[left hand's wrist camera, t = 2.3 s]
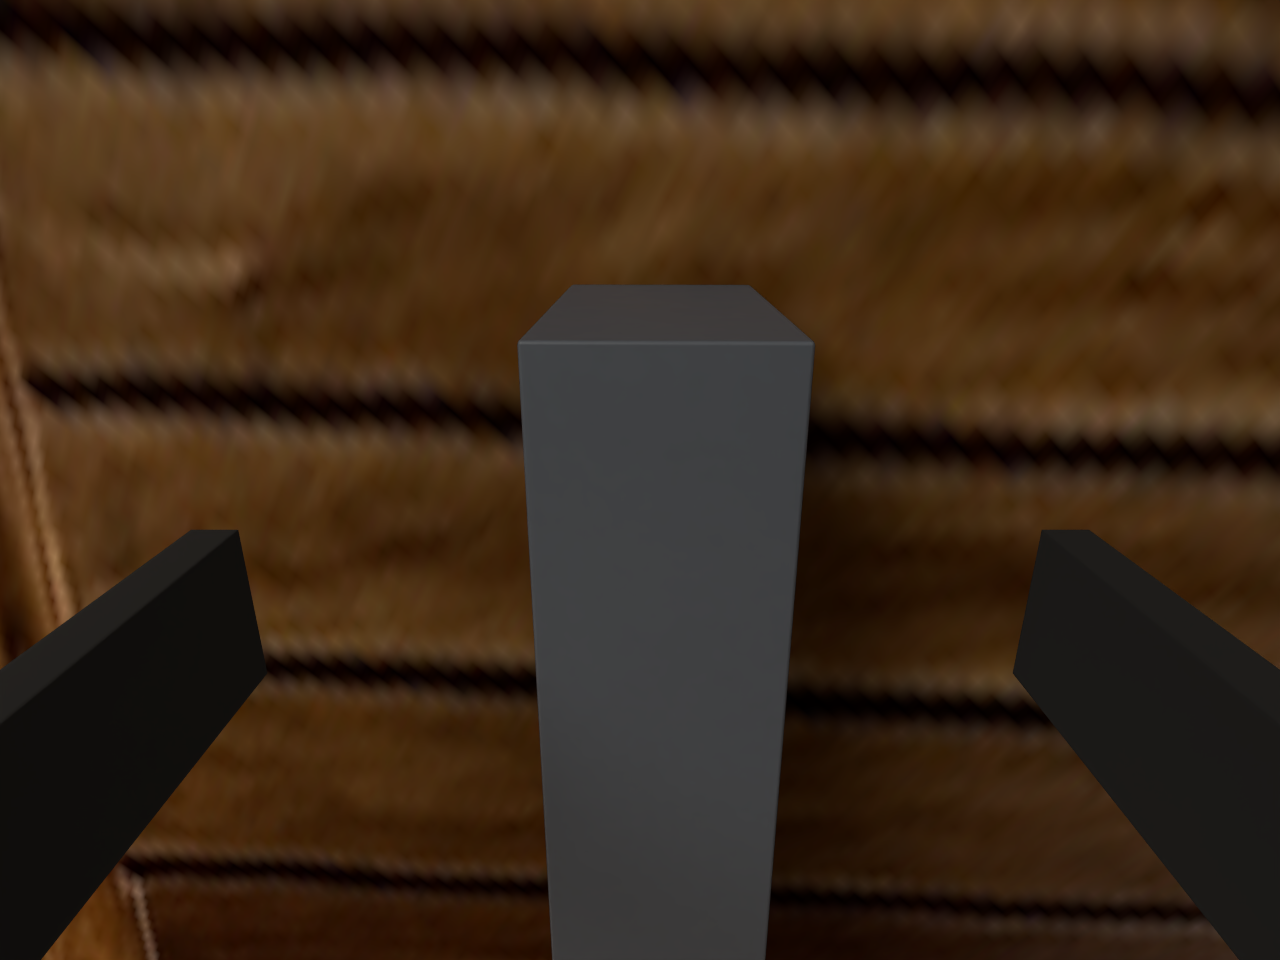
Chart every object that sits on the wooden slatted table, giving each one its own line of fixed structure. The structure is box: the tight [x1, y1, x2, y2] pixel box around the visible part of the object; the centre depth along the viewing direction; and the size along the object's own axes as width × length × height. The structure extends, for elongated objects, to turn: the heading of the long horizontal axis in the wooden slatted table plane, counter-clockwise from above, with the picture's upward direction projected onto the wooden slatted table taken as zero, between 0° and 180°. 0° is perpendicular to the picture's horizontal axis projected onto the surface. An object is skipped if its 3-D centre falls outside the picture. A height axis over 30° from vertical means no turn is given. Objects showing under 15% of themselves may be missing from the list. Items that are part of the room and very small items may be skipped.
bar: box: [517, 285, 815, 960], centre depth 20 cm, size 25×5×8 cm, turn 0°
